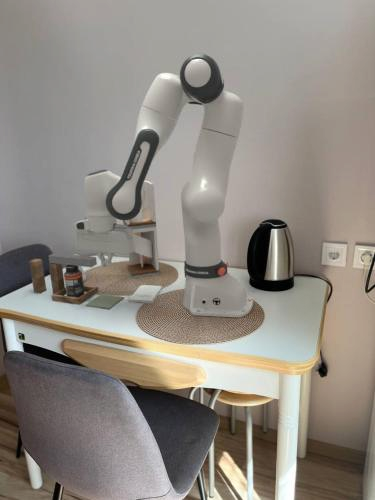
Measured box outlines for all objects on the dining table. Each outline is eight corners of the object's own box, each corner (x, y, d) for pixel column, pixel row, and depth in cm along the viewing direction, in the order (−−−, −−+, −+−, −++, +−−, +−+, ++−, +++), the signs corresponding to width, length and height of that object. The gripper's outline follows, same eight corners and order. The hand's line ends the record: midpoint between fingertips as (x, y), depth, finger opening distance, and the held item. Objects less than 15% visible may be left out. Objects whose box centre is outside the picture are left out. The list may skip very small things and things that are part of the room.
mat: (124, 298, 134) (124, 296, 133) (109, 309, 126) (109, 308, 125) (101, 295, 137) (101, 293, 137) (85, 305, 129) (85, 304, 129)
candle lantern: (127, 269, 161) (119, 182, 151) (152, 266, 164) (147, 180, 154) (131, 278, 151) (124, 186, 140) (159, 275, 154) (153, 184, 143)
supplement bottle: (76, 291, 141) (72, 261, 137) (88, 294, 138) (84, 263, 134) (63, 298, 136) (58, 266, 132) (75, 301, 133) (71, 269, 130)
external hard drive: (162, 290, 141) (152, 305, 129) (140, 289, 142) (128, 303, 131) (162, 285, 140) (152, 300, 129) (140, 284, 142) (128, 299, 130)
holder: (98, 292, 140) (95, 260, 136) (79, 304, 130) (75, 271, 126) (47, 285, 148) (42, 255, 144) (25, 296, 138) (20, 264, 135)
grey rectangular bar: (96, 264, 131) (96, 257, 130) (91, 267, 129) (90, 260, 128) (55, 259, 137) (54, 253, 137) (49, 262, 135) (48, 255, 134)
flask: (90, 277, 155) (87, 252, 152) (83, 284, 148) (80, 258, 145) (72, 277, 155) (68, 252, 152) (64, 284, 148) (61, 258, 146)
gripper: (136, 222, 123) (139, 265, 127) (81, 219, 130) (86, 259, 134) (126, 227, 117) (129, 271, 121) (69, 223, 125) (74, 265, 129)
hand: (106, 265), depth 128 cm, fingers closed
